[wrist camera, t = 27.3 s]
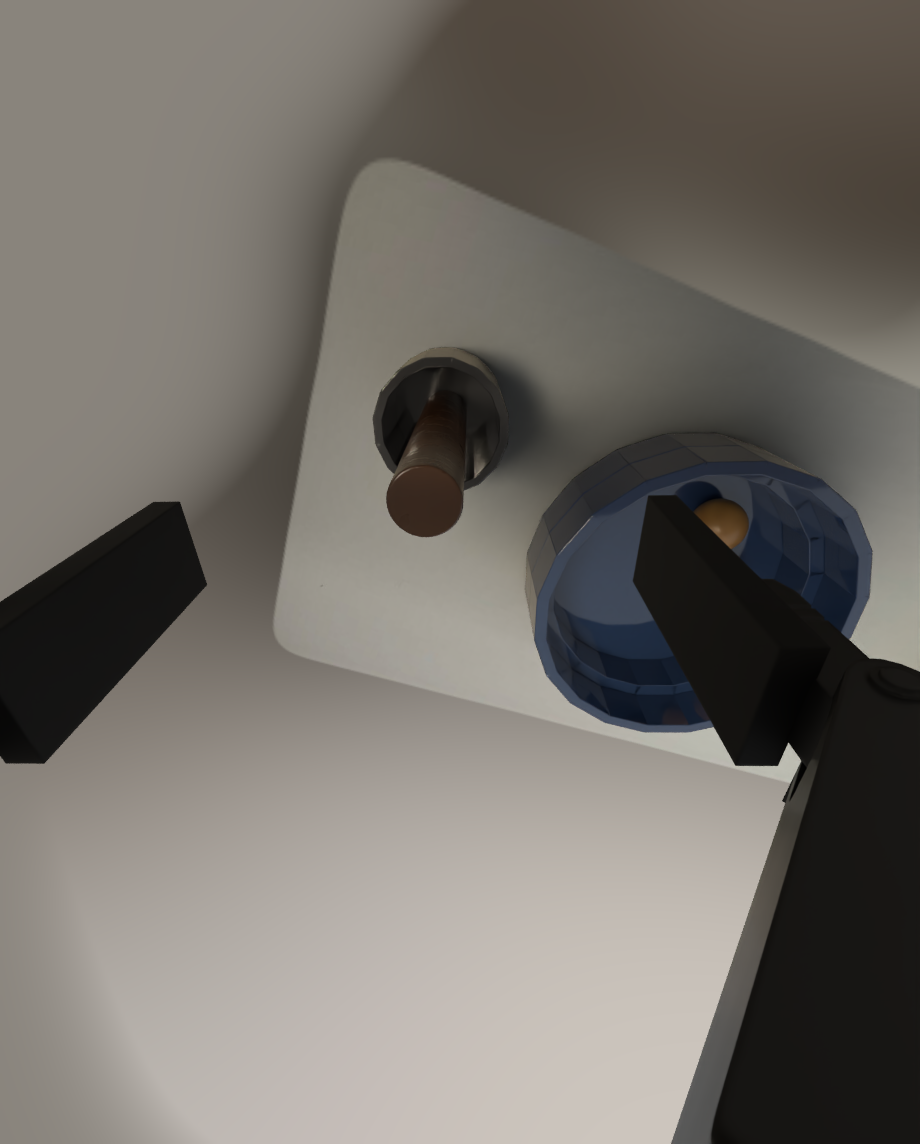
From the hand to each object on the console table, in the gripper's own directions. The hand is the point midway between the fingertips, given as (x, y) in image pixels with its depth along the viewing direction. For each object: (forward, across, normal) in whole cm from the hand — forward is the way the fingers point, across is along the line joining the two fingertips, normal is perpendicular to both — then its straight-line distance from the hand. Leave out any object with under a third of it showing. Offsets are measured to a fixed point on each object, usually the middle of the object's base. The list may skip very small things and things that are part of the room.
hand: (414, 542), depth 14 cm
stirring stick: (+20, 0, 0) cm, 20 cm away
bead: (+18, +18, -8) cm, 27 cm away
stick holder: (+20, 0, 0) cm, 20 cm away
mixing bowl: (+20, +16, -12) cm, 29 cm away
